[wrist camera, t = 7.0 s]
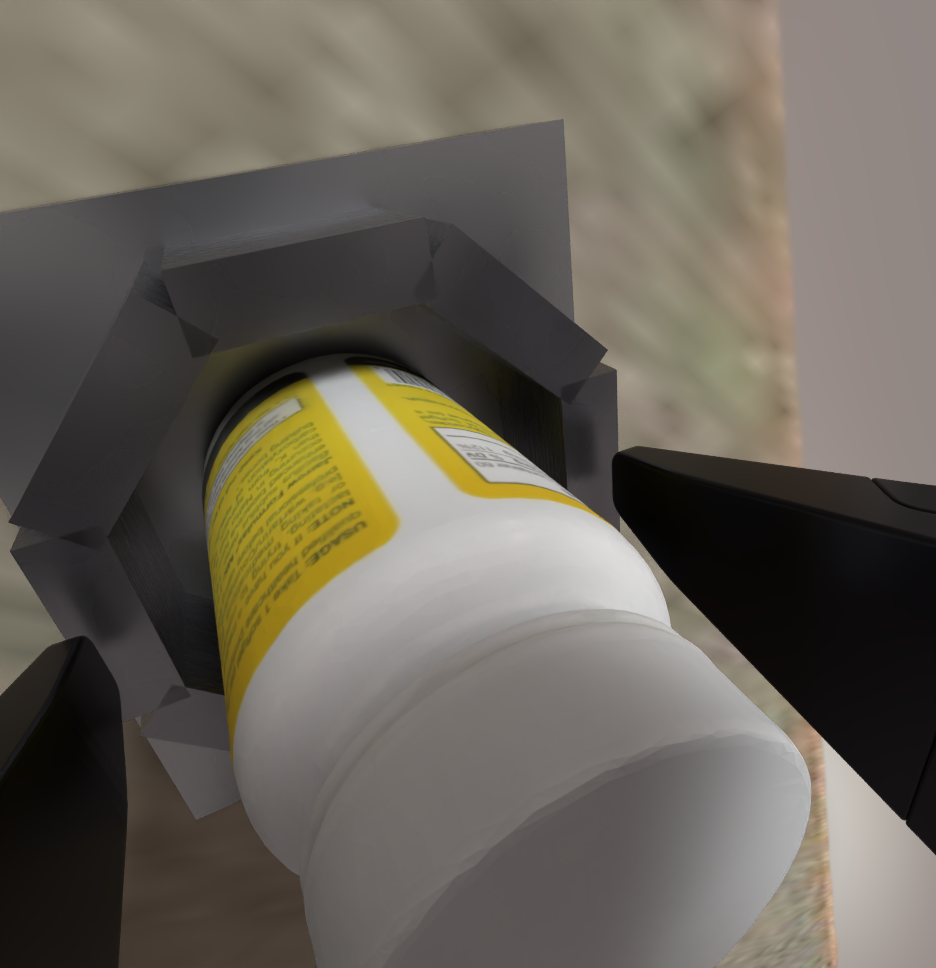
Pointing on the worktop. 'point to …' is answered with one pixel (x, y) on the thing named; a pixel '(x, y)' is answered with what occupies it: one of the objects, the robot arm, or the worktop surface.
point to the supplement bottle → (473, 697)
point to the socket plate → (266, 373)
